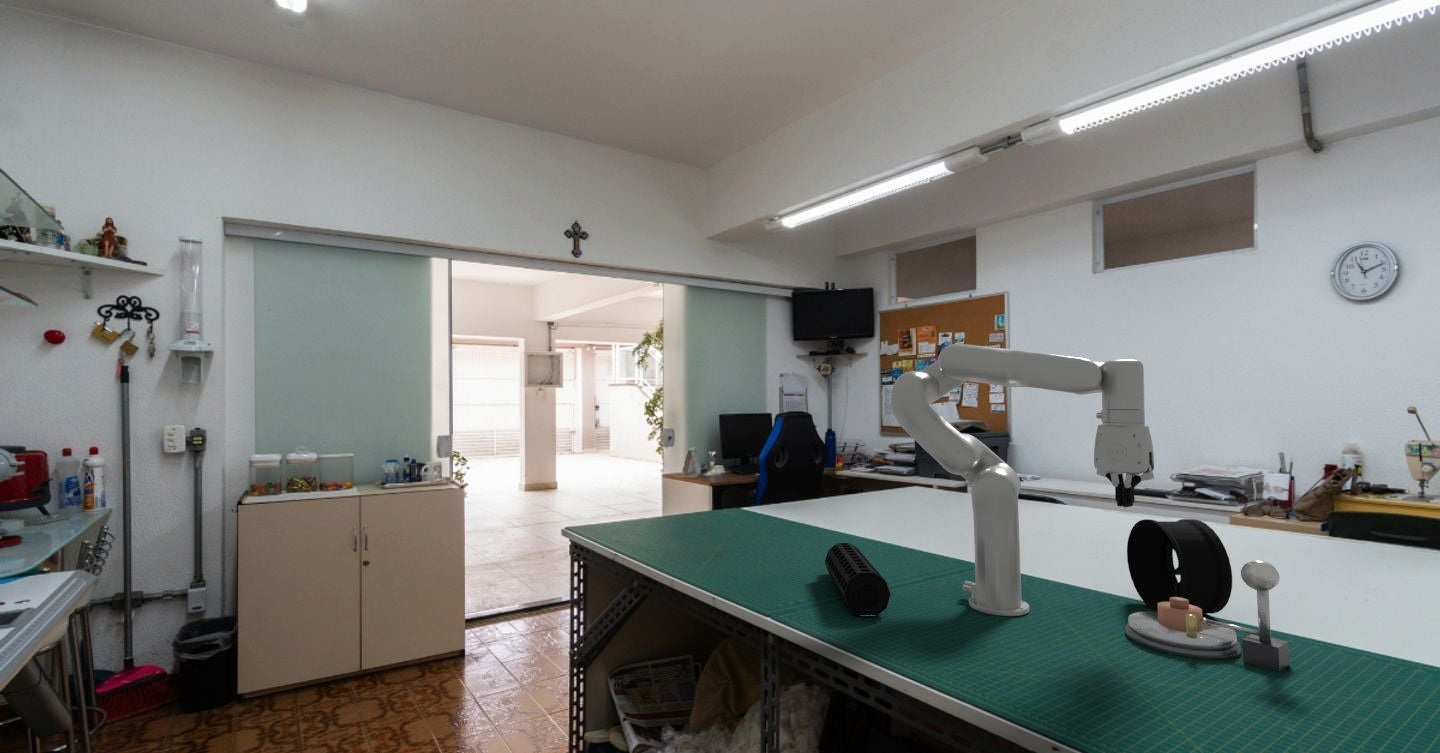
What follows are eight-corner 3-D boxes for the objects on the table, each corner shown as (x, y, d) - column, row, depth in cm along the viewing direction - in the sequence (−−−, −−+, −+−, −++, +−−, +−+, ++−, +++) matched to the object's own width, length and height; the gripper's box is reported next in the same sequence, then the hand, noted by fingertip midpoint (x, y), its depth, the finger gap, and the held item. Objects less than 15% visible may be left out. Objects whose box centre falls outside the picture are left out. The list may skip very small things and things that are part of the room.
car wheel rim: (1234, 627, 131) (1230, 528, 131) (1182, 626, 131) (1178, 528, 132) (1173, 597, 151) (1169, 512, 151) (1128, 596, 151) (1125, 512, 152)
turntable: (1141, 643, 118) (1140, 613, 119) (1119, 614, 134) (1118, 588, 134) (1253, 655, 112) (1252, 623, 113) (1216, 623, 128) (1215, 596, 128)
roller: (817, 566, 176) (827, 532, 177) (851, 577, 176) (861, 542, 176) (839, 611, 138) (853, 566, 139) (883, 625, 138) (896, 580, 138)
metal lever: (1196, 649, 119) (1192, 552, 120) (1207, 643, 122) (1203, 548, 122) (1279, 671, 109) (1274, 565, 110) (1289, 664, 112) (1284, 561, 113)
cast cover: (1165, 629, 121) (1164, 603, 121) (1153, 617, 128) (1152, 592, 128) (1209, 633, 119) (1207, 606, 119) (1194, 621, 126) (1193, 595, 126)
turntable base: (1108, 637, 126) (1108, 630, 126) (1150, 619, 136) (1149, 613, 136) (1218, 667, 111) (1218, 660, 111) (1256, 645, 121) (1255, 638, 121)
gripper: (1077, 417, 138) (1079, 502, 137) (1154, 419, 125) (1156, 513, 125) (1095, 417, 142) (1097, 500, 141) (1171, 419, 129) (1173, 509, 129)
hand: (1125, 506), depth 133 cm, fingers closed
